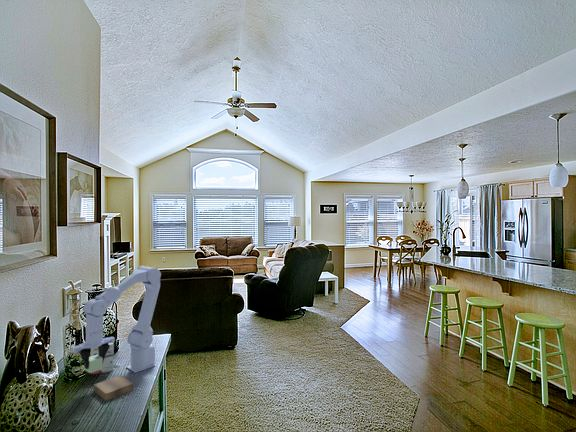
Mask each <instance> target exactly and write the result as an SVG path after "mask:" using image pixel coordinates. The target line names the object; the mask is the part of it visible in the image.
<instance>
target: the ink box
mask: <svg viewBox="0 0 576 432" xmlns="http://www.w3.org/2000/svg"><path fill="white" fill-rule="evenodd" d="M114 343H115V342H114ZM114 343H108V345H110V347H109V349H108V351H107V353H106V355H105V358H104V361H103V364H102V370H99V371H96V372H92V373H91V374H90V375H91V376H93V375H98V374H103V373H107V372H112V371H114V360H115V359H114V353H115V352H114V349H115V344H114ZM94 355H99V349H98V347H94V348H90V356H89V357H91V356H94ZM92 374H93V375H92Z"/></svg>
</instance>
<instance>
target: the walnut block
mask: <svg viewBox="0 0 576 432" xmlns="http://www.w3.org/2000/svg"><path fill="white" fill-rule="evenodd" d="M133 390H134V383H133V382H132V381H131V380H129V379H128V378H126V377H124V376H123V375H121V374H119V375H117V376H115V377H112V378H108V379H106V380H103V381H101V382H97V383H95V384H93V392H94V393H95V394H96V395H98V396H99V397H100V398H101V399H103V400H104V401H105V402H106V401H109V400H111V399H114V398H116V397H118V396H119V397H120V396H121V395H123V394H124V395H125V394H126V392H127V393H129V392H131V391H133Z"/></svg>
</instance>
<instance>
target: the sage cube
mask: <svg viewBox="0 0 576 432" xmlns="http://www.w3.org/2000/svg"><path fill="white" fill-rule="evenodd" d="M102 361H103V358H102V357H101V356H99V355H94V356H91V357H90V356H89V369H86V368H85V367H84V370H85V371H86V372H87V373H89V374H90V373H92V372H96V371H99V370H102Z"/></svg>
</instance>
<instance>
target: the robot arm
mask: <svg viewBox="0 0 576 432" xmlns="http://www.w3.org/2000/svg"><path fill="white" fill-rule="evenodd" d="M161 276H162V273H161V271H160V269H158V268H157V267H152V266H151V267H150V266H146V265H139V266H138V267H137V268H135V269H134V270H133V271H132V273H131V274H129V275H128V276H127V277H126V278H124V280H122V281H121V282H120V283H119V284H118V285H116V286H109V287H106V288H105V290H104V291H103V292H102V293H100V294H99V295H96V296H95V298H91V299H89V300H87V301H86V302H85V304H84V306H83V307H82V311H83V312H84V313H85V320H86V321H85V342H82V343H80V344H78V345H74V346H72V347H71V348H72V350H71V352H72V353H73V354H77V353H79V355H80V356H81V358H82V362H83V366H84V369H85V368H86V369H89V357H90V355H91V351H89V350H91V348H94V347H98V349H99V356H101V357H102V358H103V361H104V358H105V355H106V353H107V351H108V349H109V347H110V345H108V343H115V337H114V336H109V337H104V314H105V313H106V312H107V309H108V308H109V307H110V306H111V305H112V304H113V303H115V302H116V301H118V300H119V299H120V298H121V296H122V293H124V292H125V291H127V290H128V289H130V288H131V287H133V286H134V285H135V284H137V283H142V284H143V285H144V287H145V288H146V289H145V293H144V295H143V296H144V297H143V300H142V304H141V307H140V308H141V309H140V311H139V314H138V315H139V316H138V319H137V323H136V324H135V325H133V326H132V327H131V330H130V332H129V334H128V335H127V343H128V344H129V345H130V364H128V365H126V368H127V369H128V370H130V371H131V372H133V373H135V374H137V373H139V372H141V371H142V372H143V371H144V370H145V371H146V370H148V369H150V368H153V367H155V366H156V365H157V364H155V363H156V362H155V361H156V360H155V359H156V349H155V346H154V344H152V343H153V339H154V338H153V333H154V330H153V328H152V327H151V322H152V320H153V317H154V312H155V308H156V305H157V299H158V296H159V292H160V289H161ZM103 361H102V364H103Z"/></svg>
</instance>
